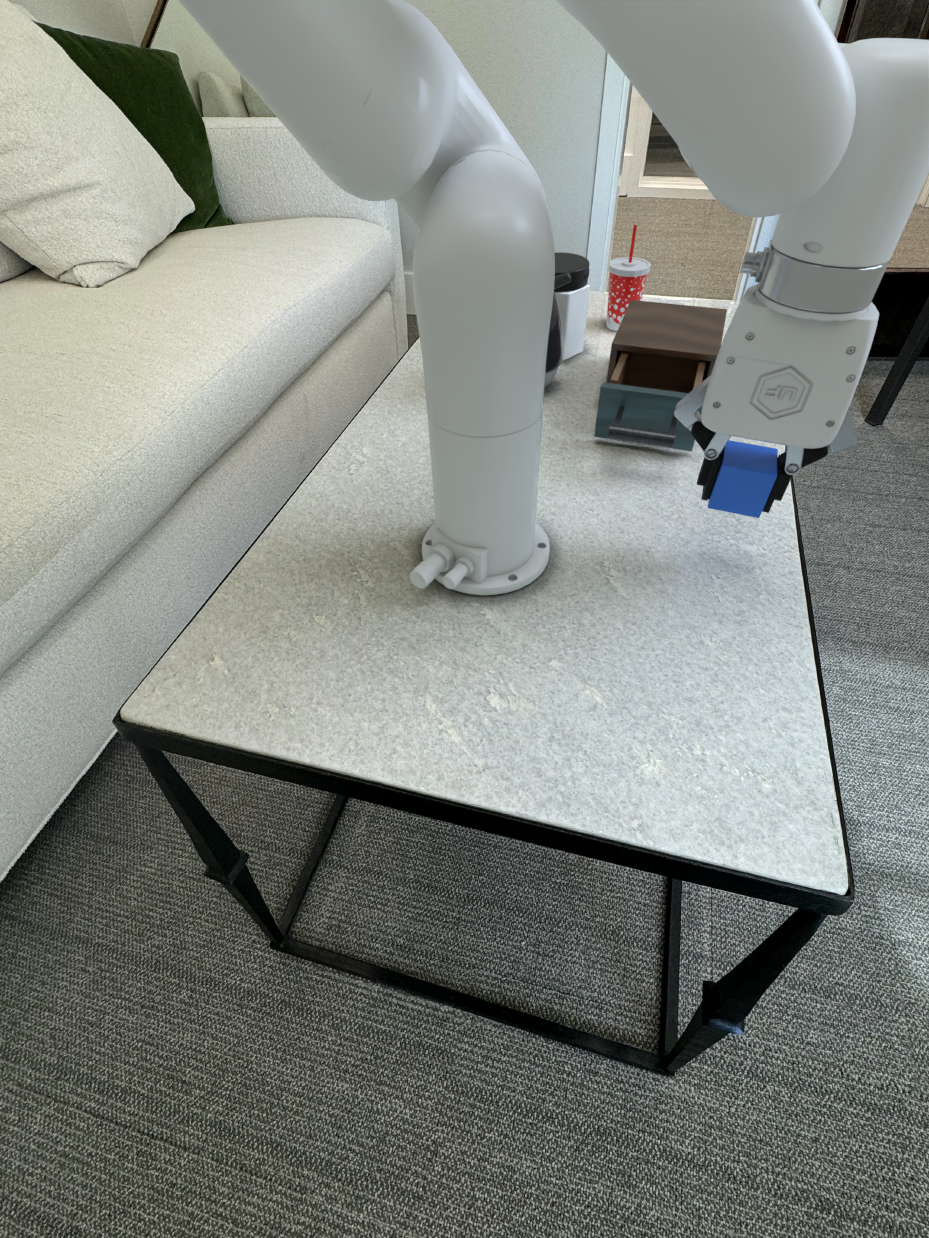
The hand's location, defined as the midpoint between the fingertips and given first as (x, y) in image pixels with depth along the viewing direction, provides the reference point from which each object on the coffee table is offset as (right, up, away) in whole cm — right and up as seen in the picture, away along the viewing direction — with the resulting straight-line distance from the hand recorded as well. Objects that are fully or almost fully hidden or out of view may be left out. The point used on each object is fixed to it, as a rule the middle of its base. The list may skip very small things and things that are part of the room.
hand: (735, 495), depth 58 cm
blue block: (0, 0, 0) cm, 0 cm away
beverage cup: (0, +35, +44) cm, 56 cm away
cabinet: (+2, +21, +30) cm, 36 cm away
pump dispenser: (-16, +21, +31) cm, 41 cm away
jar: (-11, +29, +39) cm, 50 cm away
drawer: (-2, +12, +21) cm, 24 cm away
